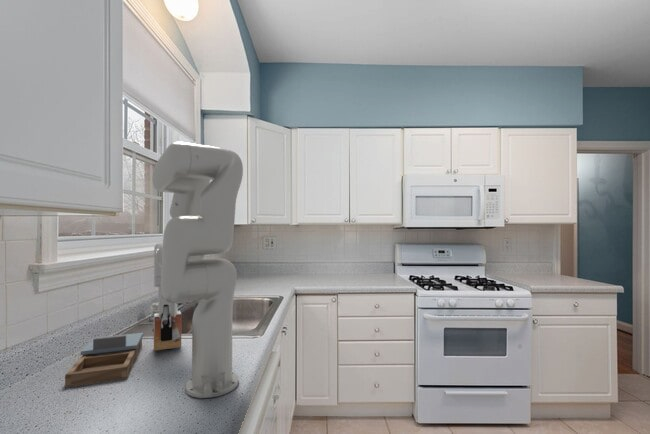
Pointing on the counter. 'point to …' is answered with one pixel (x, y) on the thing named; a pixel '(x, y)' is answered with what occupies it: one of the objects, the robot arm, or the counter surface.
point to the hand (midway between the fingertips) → (167, 336)
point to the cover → (112, 343)
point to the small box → (175, 333)
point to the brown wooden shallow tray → (102, 367)
